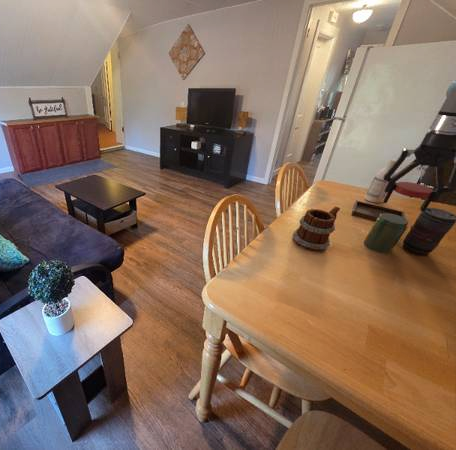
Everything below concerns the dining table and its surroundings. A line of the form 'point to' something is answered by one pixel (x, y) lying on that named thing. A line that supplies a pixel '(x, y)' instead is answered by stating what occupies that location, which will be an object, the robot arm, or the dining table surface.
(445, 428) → the dining table surface
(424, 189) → the lid
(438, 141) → the robot arm
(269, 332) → the dining table surface
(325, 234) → the mug
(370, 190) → the bath foam
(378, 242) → the jar
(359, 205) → the tray
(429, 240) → the camera lens
